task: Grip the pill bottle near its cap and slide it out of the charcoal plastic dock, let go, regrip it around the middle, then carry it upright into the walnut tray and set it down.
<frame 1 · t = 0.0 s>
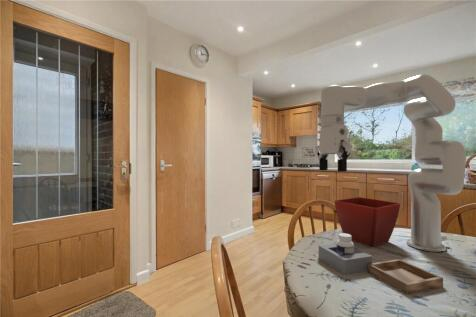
hand: (332, 170, 85), 31 cm above the table, tool pointing down, fingers open, 9 cm apart
tray: (403, 278, 71), on the table
dock: (345, 263, 81), on the table
plant pot: (366, 240, 105), on the table
pill bottle: (345, 264, 81), on the table
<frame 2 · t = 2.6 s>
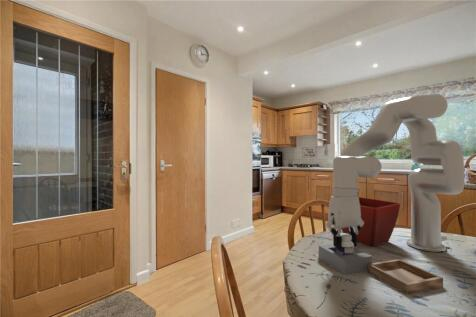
hand: (345, 245, 81), 6 cm above the table, tool pointing down, fingers closed on pill bottle, 5 cm apart
pill bottle: (345, 264, 81), on the table, touching gripper
everything else where it was.
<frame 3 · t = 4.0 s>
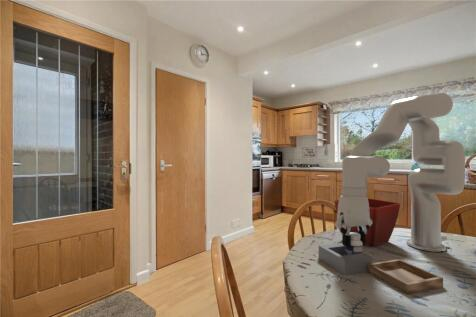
hand: (353, 244, 82), 6 cm above the table, tool pointing down, fingers closed on pill bottle, 5 cm apart
pill bottle: (353, 263, 82), on the table, touching gripper
everything else where it was.
when the fingers open (6 cm above the table, at t = 5.6 s): pill bottle stays where it is, on the table.
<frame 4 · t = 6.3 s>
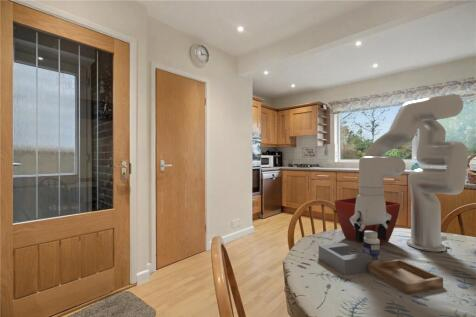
hand: (371, 240, 84), 7 cm above the table, tool pointing down, fingers open, 9 cm apart
pill bottle: (370, 260, 84), on the table
everything else where it was.
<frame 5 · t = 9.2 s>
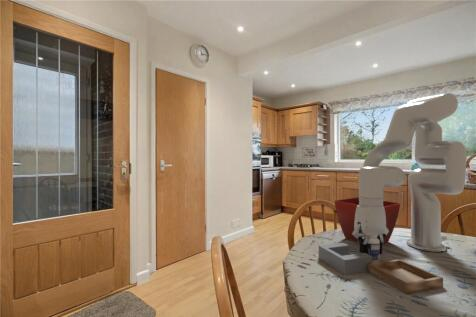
hand: (370, 253, 84), 2 cm above the table, tool pointing down, fingers closed on pill bottle, 5 cm apart
pill bottle: (370, 260, 84), on the table, touching gripper
everything else where it was.
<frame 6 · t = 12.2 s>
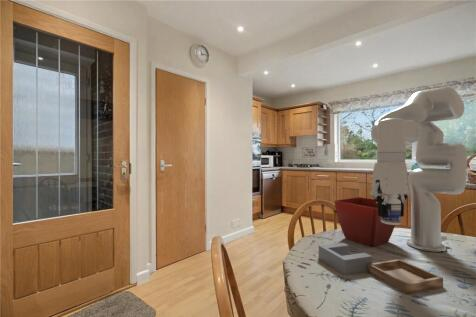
hand: (390, 215, 76), 18 cm above the table, tool pointing down, fingers closed on pill bottle, 5 cm apart
pill bottle: (390, 223, 76), point 15 cm above the table, touching gripper
everything else where it was.
when the fingers open (4 cm above the table, at t = 15.5 s): pill bottle drops 1 cm, resting on tray.
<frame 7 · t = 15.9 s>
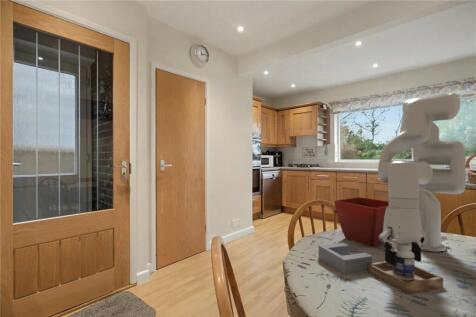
hand: (403, 261, 71), 5 cm above the table, tool pointing down, fingers open, 9 cm apart
pill bottle: (403, 277, 71), resting on tray
everything else where it was.
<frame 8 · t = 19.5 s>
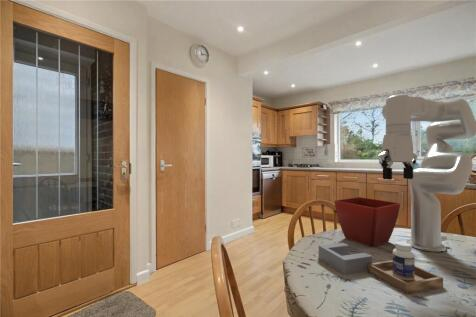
hand: (397, 178, 86), 28 cm above the table, tool pointing down, fingers open, 9 cm apart
nothing on the table moved.
at the end: pill bottle 0.2 cm off-centre on the tray, point 0.4 cm above the tray's base; pill bottle tilted 0°; the gripper is holding nothing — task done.
